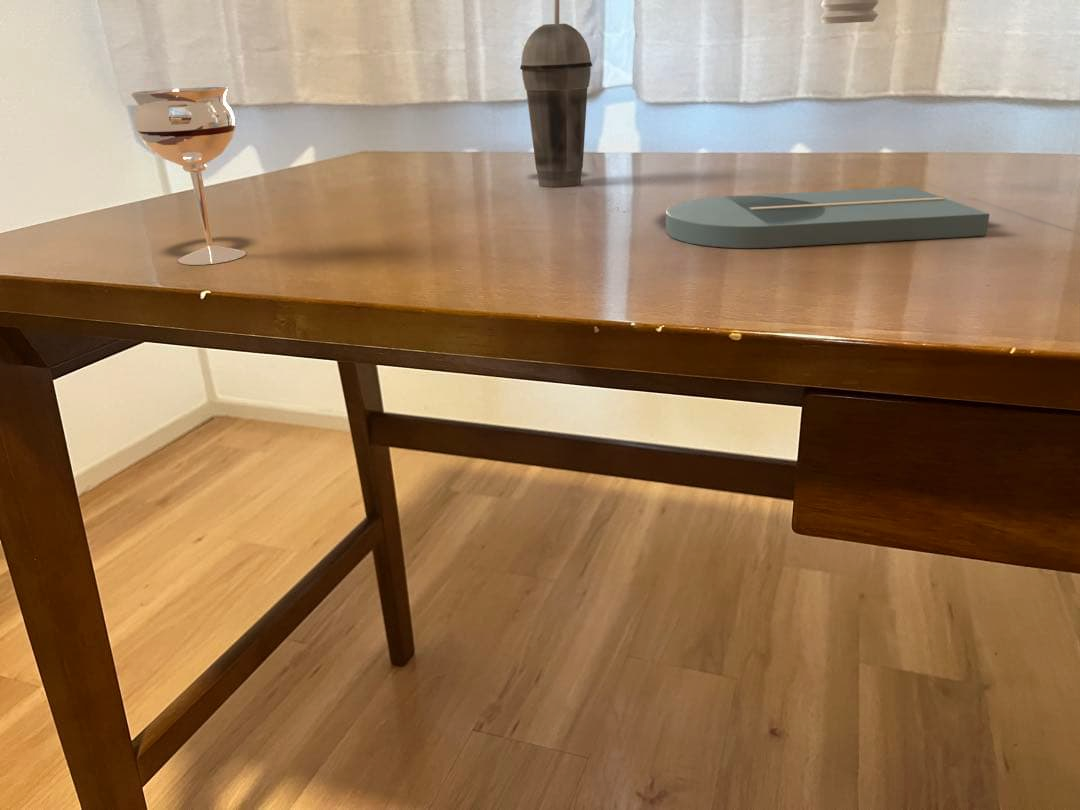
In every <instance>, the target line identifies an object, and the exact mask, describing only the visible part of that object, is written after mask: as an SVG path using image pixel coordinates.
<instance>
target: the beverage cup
mask: <svg viewBox="0 0 1080 810" xmlns="http://www.w3.org/2000/svg"><path fill="white" fill-rule="evenodd" d="M553 1H554V2H553V3H554V5H553V6H554V7H553V8H554V10H553V19H554V20H553V21H554V22H553V23H548V24H547V23H546V24H542V25H540V26H538V27H537V28H536V29H535V30H534V31H533V32H532V33H531V34H530V35H529V37H528V38H527V39H526V42H525V44H524V46H523V49H522V54H521V63H520V67H519V70H521V76H522V81H523V86H524V90H526V91H525V92H526V99H527V107H528V115H529V122H530V130H531V139H532V148H533V154H534V163H535V169H536V173H537V179H538V186H540V187H548V188H564V187H573V186H577V185H581V184H582V176H583V175H582V174H583V166H584V154H585V153H584V152H585V136H586V135H585V134H586V119H587V103H588V88H589V87H590V80H591V75H592V74H591V73H592V72H591V71H592V67H593V63H592V60H591V53H590V49H589V46H588V44H587V41H586V40H585V38H584V36H583V35H582V34H581V32H579V31H578V30H577V28H575V27H573V25H571V24H567V23H560V0H553Z"/></svg>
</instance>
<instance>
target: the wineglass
mask: <svg viewBox="0 0 1080 810" xmlns="http://www.w3.org/2000/svg"><path fill="white" fill-rule="evenodd" d="M228 90H229V87H228V86H205V87H204V86H203V87H201V86H200V87H183V88H168V89H166V88H165V89H153V90H151V89H150V90H142V91H141V90H140V91H132V92H129V93H128V94H129V96H130V97H131V99H132V100H133V101H134V102H135V104H136V105H137V106H136V107H137V108H136V110H135V112H134V127H135V128H136V131H137V133H138V134H137V135H138V136H139V137H140V139H141V140H142V142H143V144H144V145H145V147H147V148H149V149H150V150H151V151H153V152H154V153H155V154H156V155H158V156H159V157H160V158H162V159H163V160H166V161H169V162H171V163H174V164H177V165H179V166H182V170H183V171H184V172H186V173H189V174H190V178H191V182H192V186H193V190H194V195H195V199H196V204H197V208H198V212H199V216H200V220H201V224H202V229H203V233H204V237H205V241H206V246H204V247H202V248H199V249H197V250H195V251H192V252H190V253H187V254H185V255H182V256H181V257H180V258H178V260H177V262H178V263H179V264H183V265H187V266H189V265H192V266H204V265H215V264H220V263H221V264H222V263H226V262H231V261H235V260H238V259H240V258H243V257H244V256H246V254H247V252H246V251H245V250H242V249H237V248H233V247H225V246H219V245H214V244H213V237H212V233H211V232H212V231H211V224H210V219H209V218H210V217H209V211H208V206H207V205H208V204H207V199H206V191H205V186H204V179H203V173H202V172H203V171H206V169H207V167H208V165H207V164H209V163H210V162H212V161H213V160H214V159H216V158H217V157H219V156H220V155H222V154H223V153H224V151H225V150H226V148H227V147H228V145H229V144H230V143H231V142H232V140H233V139H234V135H235V134H234V133H235V130H236V126H237V125H236V124H237V122H236V118H235V117H236V116H235V113H234V111H233V108H232V107H231V105H230V104H229V103H228V102H227V100H226V98H227V93H228Z"/></svg>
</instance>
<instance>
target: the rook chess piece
mask: <svg viewBox="0 0 1080 810" xmlns="http://www.w3.org/2000/svg"><path fill="white" fill-rule="evenodd" d="M878 4H879V0H822V2H821V5H820V6H821V7H822V9H823V10H824V13H823V14H822V15H820V17H819V19H820V21H821V23H822V24H823V25H825V24H826V25H828V24H829V25H830V24H850V23H852V24H853V23H871V22H875V20H876V19H877V17H878V16H879V14H878V13H877V12H876V11H875V10H874V9H875V8H876V6H877V5H878Z"/></svg>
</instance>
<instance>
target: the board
mask: <svg viewBox="0 0 1080 810" xmlns="http://www.w3.org/2000/svg"><path fill="white" fill-rule="evenodd" d="M989 220H990V213H988V212H985V211H983V210H979V209H977V208H974V207H971V206H968V205H965V204H963V203H959V202H957V201H954V200H951V199H948V198H945V197H942V196H940V195H936V194H934V193H931V192H928V191H926V190H922V189H920V188H917V187H914V186H897V187H879V188H862V189H861V188H858V189H844V190H843V189H842V190H841V189H840V190H827V191H826V190H824V191H804V192H785V193H783V192H782V193H767V194H766V193H765V194H749V195H748V194H747V195H728V196H714V197H712V196H711V197H704V198H697V199H691V200H685V201H681V202H678V203H675V204H672V205H671V206H669V207H668V208H667V209H666V210H665V233H666V234H667V236H668V237H670V238H672V239H674V240H677V241H680V242H683V243H687V244H692V245H697V246H703V247H710V248H722V249H725V248H726V249H774V248H788V247H789V248H790V247H793V248H795V247H810V246H811V247H812V246H824V245H825V246H827V245H828V246H829V245H843V244H844V245H845V244H862V243H879V242H881V243H882V242H898V241H899V242H901V241H918V240H919V241H920V240H934V239H935V240H936V239H937V240H938V239H952V238H970V237H973V238H974V237H986V236H987V231H988V226H989Z"/></svg>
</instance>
